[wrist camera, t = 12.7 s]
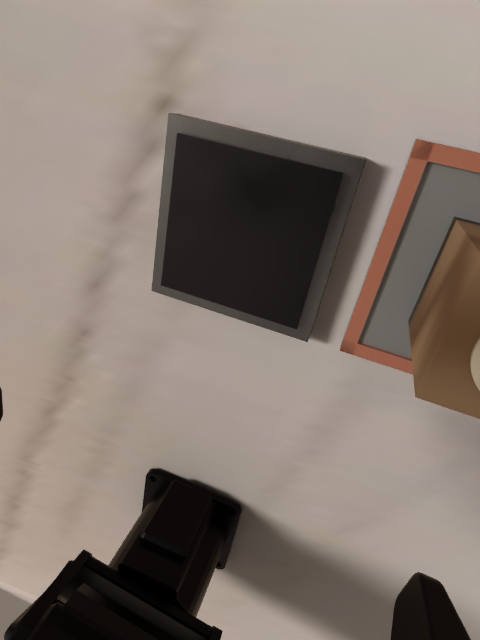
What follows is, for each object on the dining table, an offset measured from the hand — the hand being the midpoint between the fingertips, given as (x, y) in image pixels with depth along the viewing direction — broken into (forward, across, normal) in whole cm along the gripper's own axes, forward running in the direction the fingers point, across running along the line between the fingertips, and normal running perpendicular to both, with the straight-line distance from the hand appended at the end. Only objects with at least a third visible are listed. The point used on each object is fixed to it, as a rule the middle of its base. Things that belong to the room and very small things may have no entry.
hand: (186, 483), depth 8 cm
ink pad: (+12, +3, -2) cm, 13 cm away
